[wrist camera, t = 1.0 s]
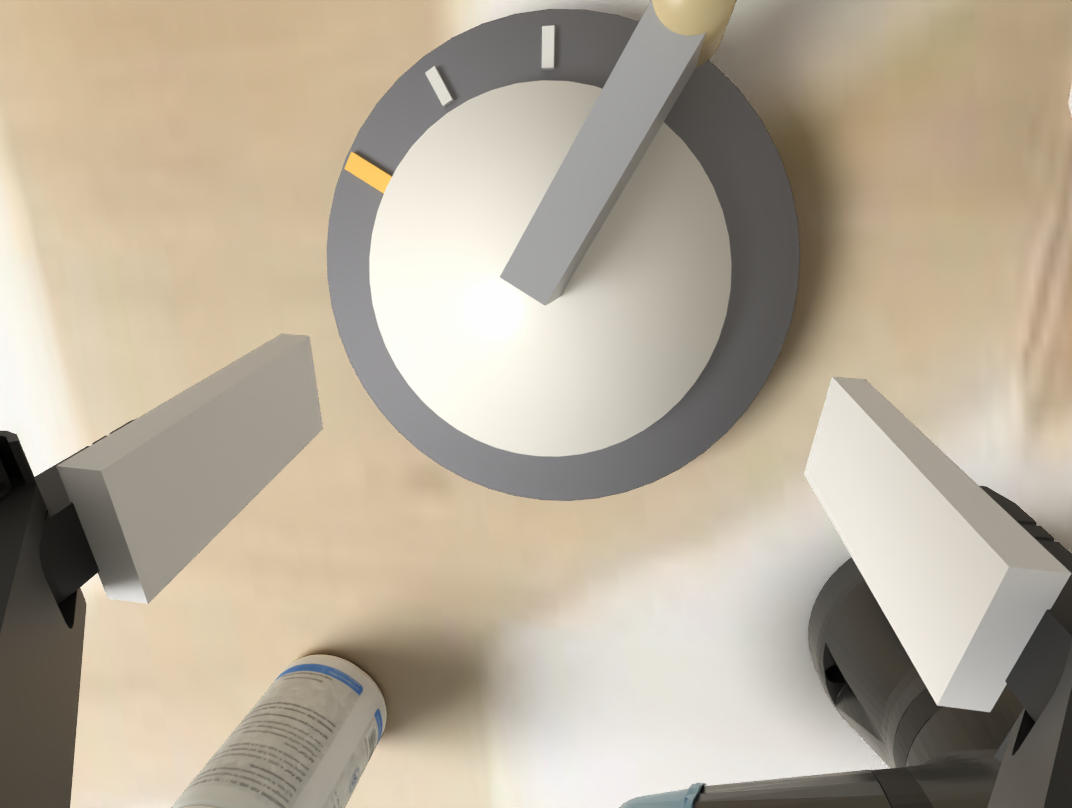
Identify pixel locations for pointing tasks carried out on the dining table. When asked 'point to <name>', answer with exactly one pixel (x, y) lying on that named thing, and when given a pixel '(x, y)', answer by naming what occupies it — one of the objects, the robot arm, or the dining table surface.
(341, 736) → the supplement tub
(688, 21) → the dial
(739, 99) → the dial base
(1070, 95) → the decorative candle
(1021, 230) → the dining table surface
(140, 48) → the dining table surface
